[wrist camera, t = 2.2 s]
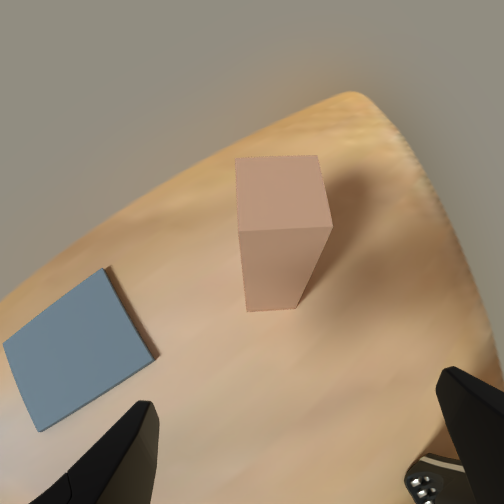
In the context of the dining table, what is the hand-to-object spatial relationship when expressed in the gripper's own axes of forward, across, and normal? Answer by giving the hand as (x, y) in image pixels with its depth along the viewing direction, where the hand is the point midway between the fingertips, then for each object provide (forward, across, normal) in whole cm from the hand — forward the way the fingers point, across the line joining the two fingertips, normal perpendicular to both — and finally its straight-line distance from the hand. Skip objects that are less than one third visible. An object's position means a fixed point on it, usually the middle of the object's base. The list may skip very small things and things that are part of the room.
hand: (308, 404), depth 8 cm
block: (+15, 0, +4) cm, 16 cm away
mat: (+12, +16, +8) cm, 22 cm away
